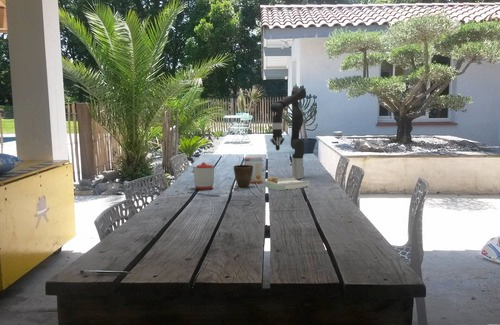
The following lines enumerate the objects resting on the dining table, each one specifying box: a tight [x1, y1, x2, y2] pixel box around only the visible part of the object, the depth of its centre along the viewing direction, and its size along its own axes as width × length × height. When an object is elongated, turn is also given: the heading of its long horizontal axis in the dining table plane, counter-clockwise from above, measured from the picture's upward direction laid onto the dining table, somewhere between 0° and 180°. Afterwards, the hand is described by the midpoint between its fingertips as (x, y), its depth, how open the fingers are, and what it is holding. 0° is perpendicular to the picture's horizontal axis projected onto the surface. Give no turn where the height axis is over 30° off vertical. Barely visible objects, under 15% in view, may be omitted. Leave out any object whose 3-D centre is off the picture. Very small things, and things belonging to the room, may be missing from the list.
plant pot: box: [233, 164, 253, 189], centre depth 366 cm, size 15×15×16 cm
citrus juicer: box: [191, 161, 215, 191], centre depth 361 cm, size 16×17×20 cm
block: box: [266, 176, 278, 183], centre depth 367 cm, size 6×5×4 cm
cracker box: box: [243, 156, 263, 184], centre depth 387 cm, size 14×6×21 cm, turn 84°
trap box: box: [263, 177, 311, 191], centre depth 368 cm, size 28×20×4 cm
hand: (277, 150), depth 385 cm, fingers closed
